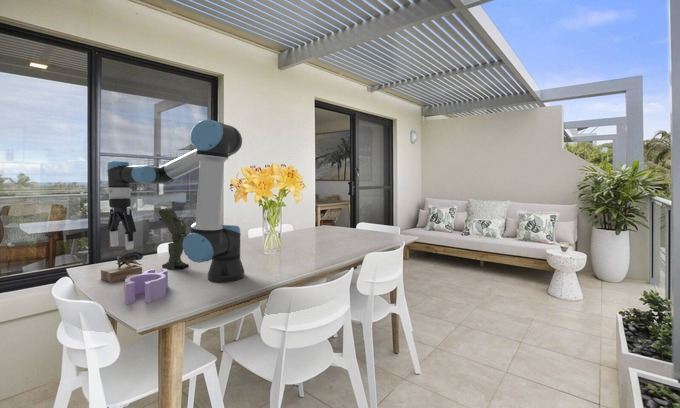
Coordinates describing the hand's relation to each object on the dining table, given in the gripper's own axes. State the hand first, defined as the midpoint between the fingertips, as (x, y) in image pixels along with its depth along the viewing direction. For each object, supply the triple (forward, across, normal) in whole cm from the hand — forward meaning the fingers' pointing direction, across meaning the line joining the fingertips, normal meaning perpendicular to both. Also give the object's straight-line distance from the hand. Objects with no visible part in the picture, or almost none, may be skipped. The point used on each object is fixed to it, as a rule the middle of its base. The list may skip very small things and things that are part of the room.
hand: (122, 247), depth 136 cm
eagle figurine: (+9, 0, +3) cm, 10 cm away
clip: (+14, +30, -4) cm, 33 cm away
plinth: (+13, -1, 0) cm, 13 cm away
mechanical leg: (+13, +1, +22) cm, 25 cm away
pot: (+13, +19, -4) cm, 23 cm away
